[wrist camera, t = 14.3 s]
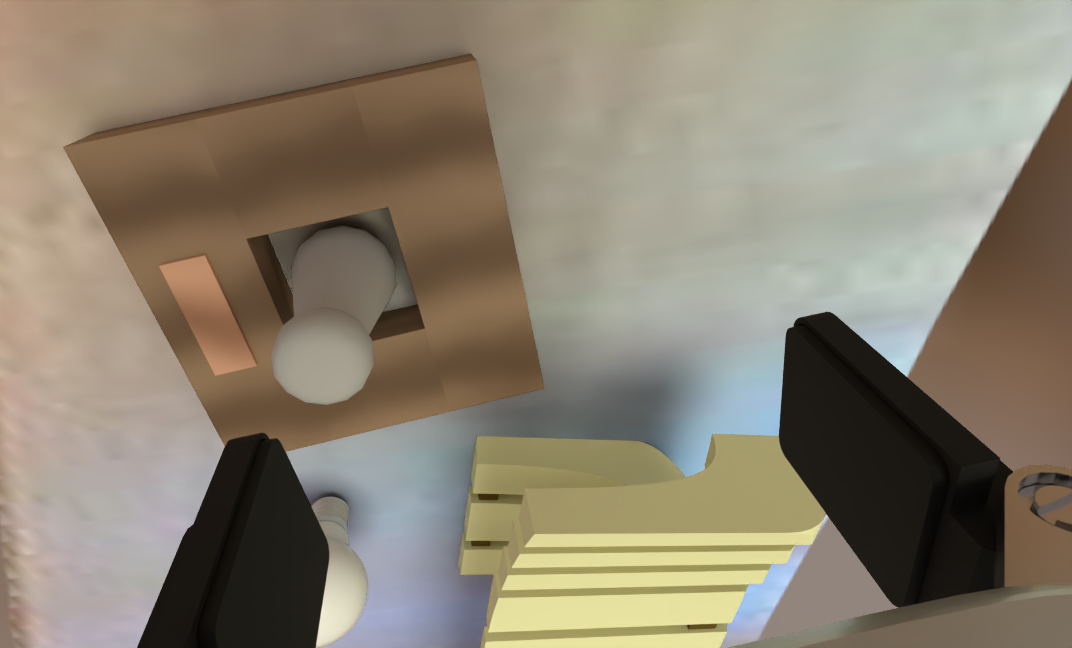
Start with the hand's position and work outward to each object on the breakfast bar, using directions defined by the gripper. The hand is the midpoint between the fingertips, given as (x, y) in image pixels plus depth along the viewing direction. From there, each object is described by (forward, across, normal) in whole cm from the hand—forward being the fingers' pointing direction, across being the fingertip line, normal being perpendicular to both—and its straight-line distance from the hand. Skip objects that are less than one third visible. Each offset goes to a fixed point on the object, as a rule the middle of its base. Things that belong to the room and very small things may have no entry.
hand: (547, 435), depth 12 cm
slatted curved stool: (+27, -2, +31) cm, 41 cm away
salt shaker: (+28, +9, +7) cm, 30 cm away
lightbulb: (+27, +15, +25) cm, 40 cm away
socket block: (+28, +9, +7) cm, 30 cm away
